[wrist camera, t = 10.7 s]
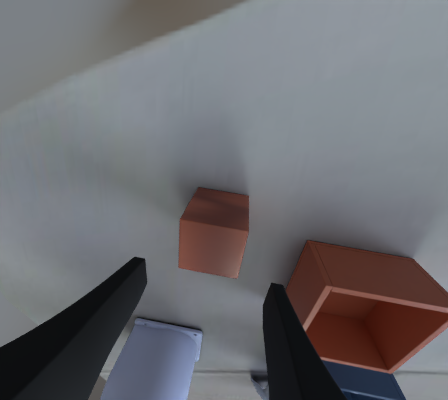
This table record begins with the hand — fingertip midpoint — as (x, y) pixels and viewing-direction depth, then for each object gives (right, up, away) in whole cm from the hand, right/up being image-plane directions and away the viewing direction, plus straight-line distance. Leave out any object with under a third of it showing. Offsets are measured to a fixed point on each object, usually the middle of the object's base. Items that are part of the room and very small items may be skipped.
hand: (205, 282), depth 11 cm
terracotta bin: (+13, -4, +9) cm, 16 cm away
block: (+1, +4, +6) cm, 7 cm away
